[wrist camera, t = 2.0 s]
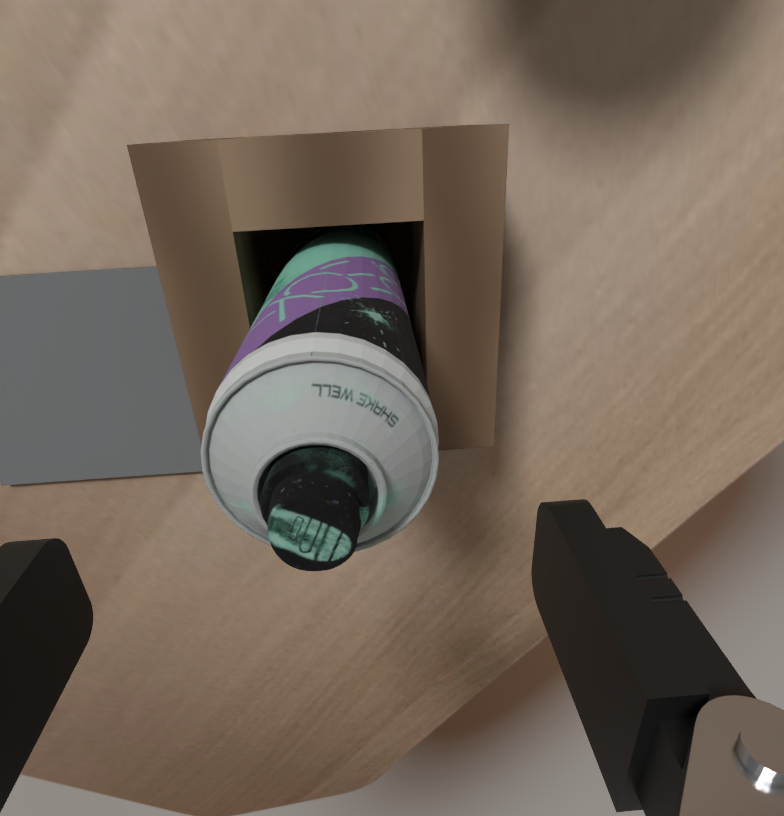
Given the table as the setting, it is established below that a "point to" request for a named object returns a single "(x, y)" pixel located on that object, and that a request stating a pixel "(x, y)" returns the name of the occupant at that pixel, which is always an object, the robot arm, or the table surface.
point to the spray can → (325, 408)
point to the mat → (91, 379)
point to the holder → (333, 206)
